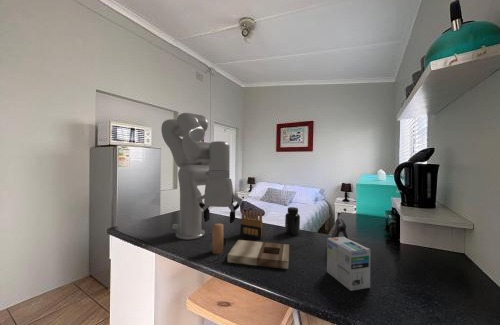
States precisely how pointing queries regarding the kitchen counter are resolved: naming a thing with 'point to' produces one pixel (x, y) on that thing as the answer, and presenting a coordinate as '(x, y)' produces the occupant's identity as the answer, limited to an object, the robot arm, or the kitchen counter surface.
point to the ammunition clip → (251, 225)
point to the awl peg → (217, 238)
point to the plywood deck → (260, 254)
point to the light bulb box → (348, 263)
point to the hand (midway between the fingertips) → (219, 221)
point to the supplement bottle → (292, 222)
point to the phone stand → (339, 229)
